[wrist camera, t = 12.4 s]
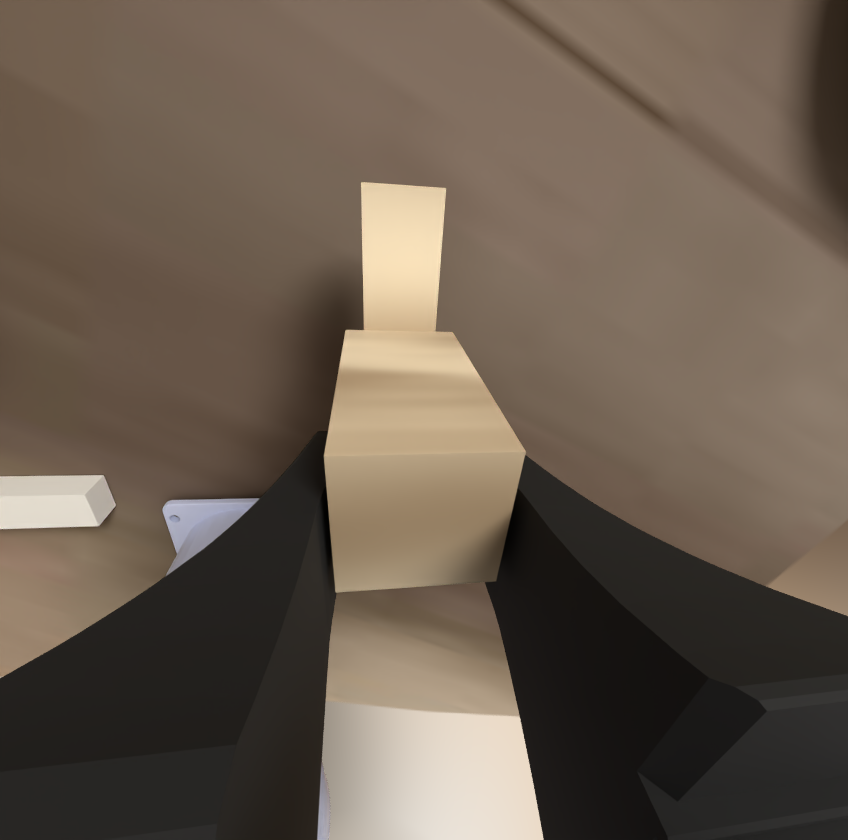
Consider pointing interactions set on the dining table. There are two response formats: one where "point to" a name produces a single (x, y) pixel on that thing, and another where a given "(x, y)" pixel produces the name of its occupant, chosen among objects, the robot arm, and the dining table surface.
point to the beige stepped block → (413, 421)
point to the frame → (54, 501)
